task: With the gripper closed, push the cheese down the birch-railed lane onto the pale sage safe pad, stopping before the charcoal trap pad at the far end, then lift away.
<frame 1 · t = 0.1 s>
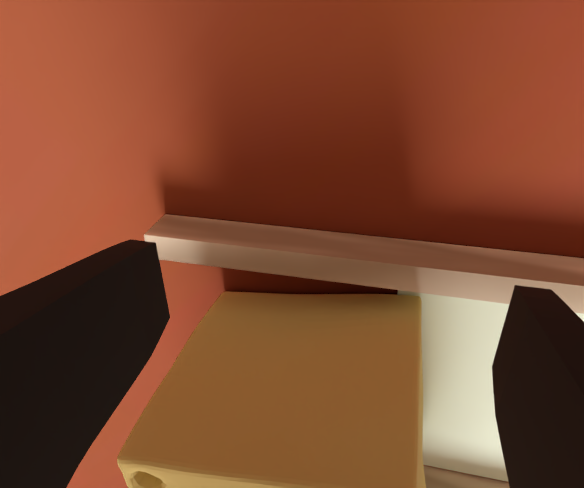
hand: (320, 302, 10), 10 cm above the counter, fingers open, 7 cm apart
cheese: (329, 362, 25), on the counter, touching safe pad
safe pad: (513, 394, 23), resting in lane rails
lane rails: (491, 390, 23), on the counter
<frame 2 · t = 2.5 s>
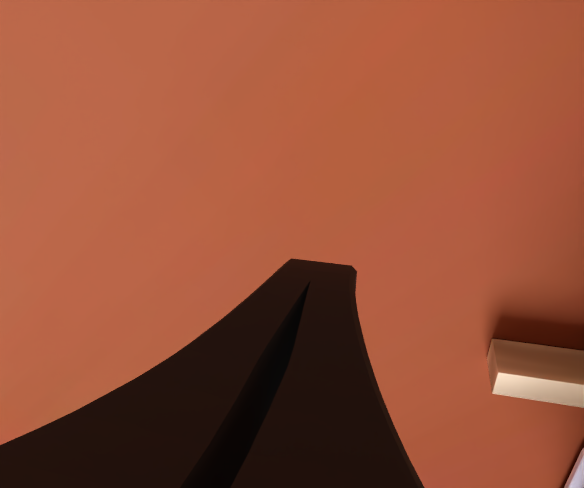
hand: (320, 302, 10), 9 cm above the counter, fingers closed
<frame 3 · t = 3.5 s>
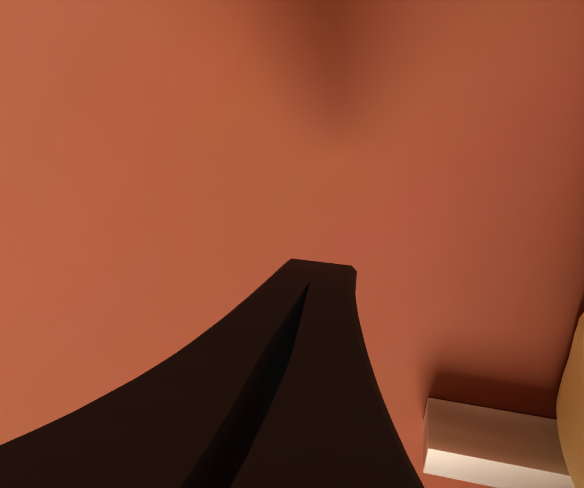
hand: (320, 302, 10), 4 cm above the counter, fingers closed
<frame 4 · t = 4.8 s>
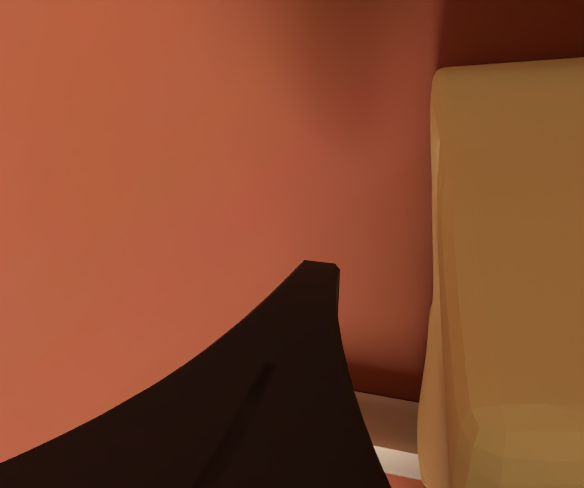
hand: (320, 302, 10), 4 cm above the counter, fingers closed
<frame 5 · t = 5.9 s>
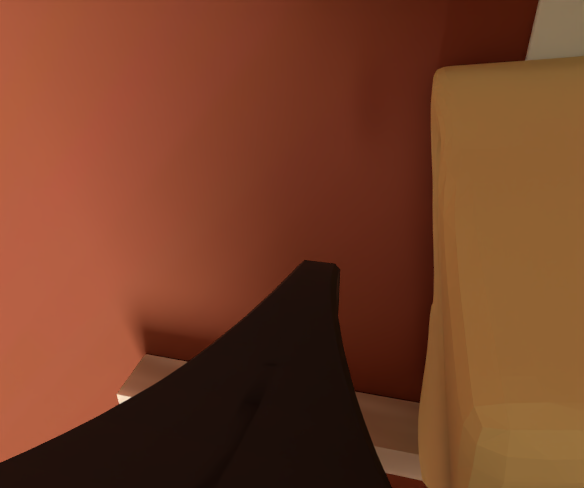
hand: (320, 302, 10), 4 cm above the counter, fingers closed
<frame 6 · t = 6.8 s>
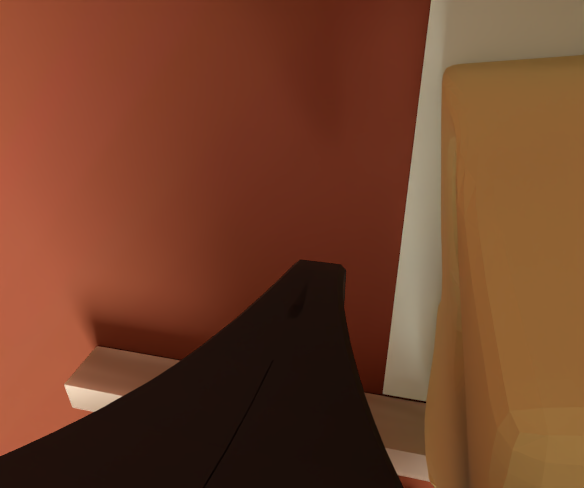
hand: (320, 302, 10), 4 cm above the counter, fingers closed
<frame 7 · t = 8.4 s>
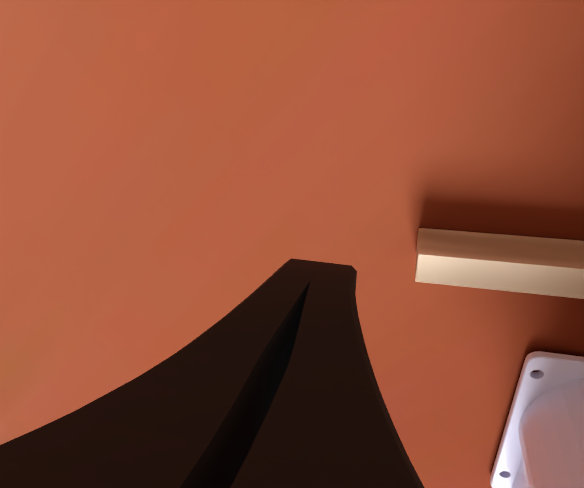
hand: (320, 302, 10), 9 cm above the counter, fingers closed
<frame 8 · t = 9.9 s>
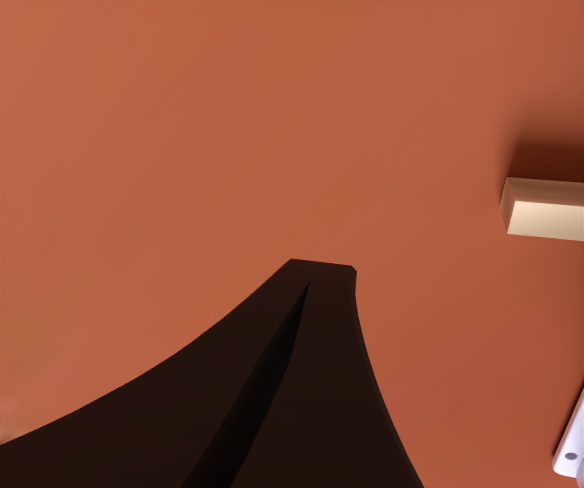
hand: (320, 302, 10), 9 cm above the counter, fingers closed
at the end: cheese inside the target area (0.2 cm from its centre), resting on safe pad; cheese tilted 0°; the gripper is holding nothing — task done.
